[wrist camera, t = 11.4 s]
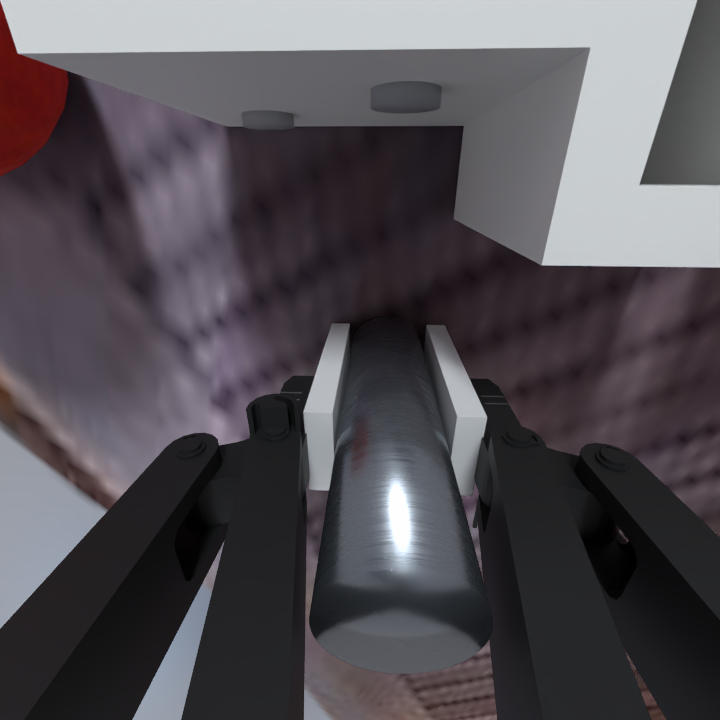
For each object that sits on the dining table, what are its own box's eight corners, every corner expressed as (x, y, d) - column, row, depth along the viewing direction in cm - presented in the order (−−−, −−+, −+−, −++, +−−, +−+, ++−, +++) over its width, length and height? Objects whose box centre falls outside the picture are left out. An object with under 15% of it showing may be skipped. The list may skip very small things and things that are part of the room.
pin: (351, 315, 15) (303, 565, 5) (423, 316, 15) (508, 574, 5) (351, 377, 16) (314, 669, 7) (417, 378, 16) (478, 678, 7)
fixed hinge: (201, -61, 10) (-201, -607, 3) (763, -73, 10) (1847, -783, 3) (239, 217, 14) (86, 260, 6) (660, 220, 13) (1004, 270, 6)
